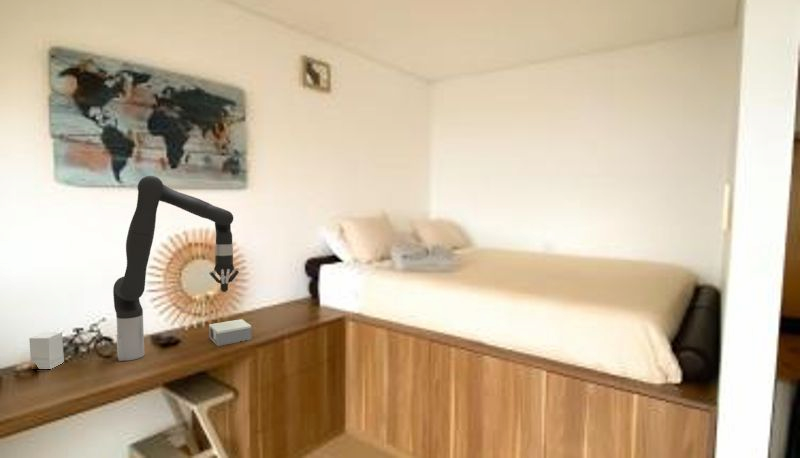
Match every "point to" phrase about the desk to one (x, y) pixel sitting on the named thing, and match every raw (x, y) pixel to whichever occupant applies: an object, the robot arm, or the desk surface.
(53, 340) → the supplement box
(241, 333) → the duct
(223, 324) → the panel
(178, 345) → the desk surface
